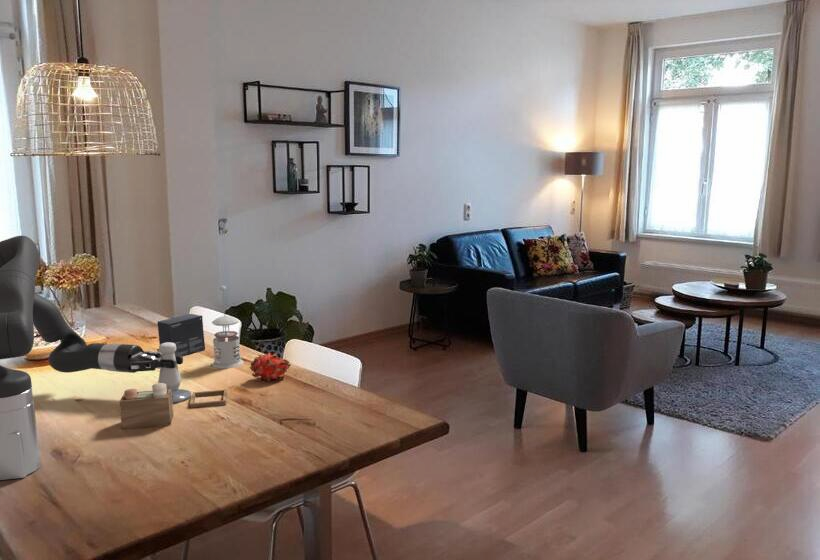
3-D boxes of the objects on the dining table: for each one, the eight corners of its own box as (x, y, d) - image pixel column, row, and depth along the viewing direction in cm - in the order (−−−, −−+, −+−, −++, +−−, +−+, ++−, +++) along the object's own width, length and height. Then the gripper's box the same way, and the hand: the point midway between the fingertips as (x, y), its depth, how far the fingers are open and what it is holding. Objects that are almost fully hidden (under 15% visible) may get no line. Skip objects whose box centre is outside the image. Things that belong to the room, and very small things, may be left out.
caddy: (170, 424, 159) (167, 388, 157) (122, 429, 156) (118, 392, 155) (173, 415, 165) (170, 380, 163) (126, 419, 162) (123, 384, 161)
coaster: (189, 402, 173) (189, 400, 173) (149, 406, 171) (149, 403, 171) (192, 389, 183) (192, 387, 183) (154, 393, 181) (154, 390, 181)
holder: (225, 404, 172) (225, 401, 172) (189, 407, 170) (189, 404, 170) (227, 393, 180) (227, 389, 180) (193, 395, 178) (192, 392, 178)
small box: (193, 346, 226) (190, 312, 224) (205, 349, 222) (203, 315, 220) (159, 356, 215) (156, 320, 213) (172, 359, 211) (169, 323, 209)
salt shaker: (174, 394, 173) (170, 347, 171) (154, 392, 175) (151, 345, 172) (185, 387, 179) (182, 341, 177) (166, 385, 180) (163, 339, 178)
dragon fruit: (247, 386, 190) (288, 386, 195) (252, 376, 184) (294, 377, 188) (246, 358, 194) (287, 359, 199) (252, 348, 187) (293, 349, 192)
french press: (211, 369, 201) (205, 289, 196) (212, 358, 212) (206, 282, 207) (244, 366, 203) (239, 287, 199) (243, 356, 214) (239, 281, 210)
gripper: (102, 352, 171) (162, 356, 167) (135, 337, 184) (191, 341, 181) (105, 379, 172) (164, 384, 169) (137, 363, 186) (193, 367, 182)
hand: (178, 362), depth 175 cm, fingers closed on salt shaker, 3 cm apart
